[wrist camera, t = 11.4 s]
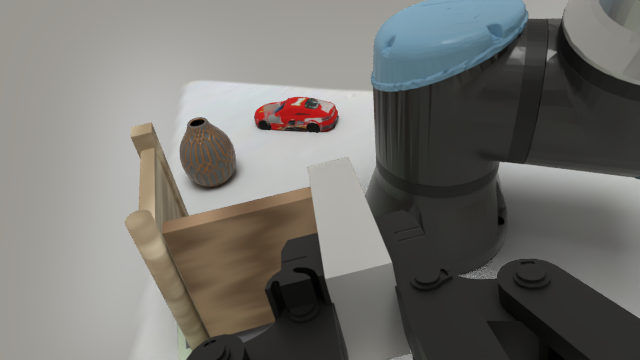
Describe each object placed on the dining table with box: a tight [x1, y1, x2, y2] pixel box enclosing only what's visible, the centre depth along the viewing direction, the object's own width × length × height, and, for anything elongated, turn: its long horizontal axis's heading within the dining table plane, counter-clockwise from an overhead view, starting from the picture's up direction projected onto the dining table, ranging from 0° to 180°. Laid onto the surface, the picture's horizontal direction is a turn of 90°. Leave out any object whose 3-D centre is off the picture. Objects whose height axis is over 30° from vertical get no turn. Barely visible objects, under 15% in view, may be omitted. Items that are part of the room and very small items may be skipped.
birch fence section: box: [125, 123, 210, 351], centre depth 40 cm, size 2×14×16 cm, turn 17°
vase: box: [180, 117, 236, 187], centre depth 57 cm, size 7×7×9 cm
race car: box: [254, 97, 339, 133], centre depth 68 cm, size 13×5×4 cm, turn 74°
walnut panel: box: [162, 187, 318, 338], centre depth 36 cm, size 13×2×15 cm, turn 104°
